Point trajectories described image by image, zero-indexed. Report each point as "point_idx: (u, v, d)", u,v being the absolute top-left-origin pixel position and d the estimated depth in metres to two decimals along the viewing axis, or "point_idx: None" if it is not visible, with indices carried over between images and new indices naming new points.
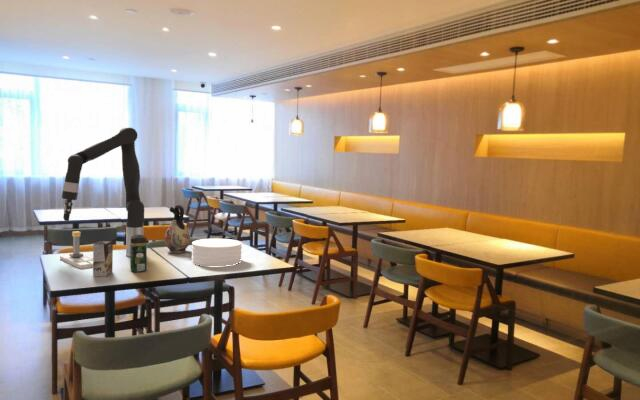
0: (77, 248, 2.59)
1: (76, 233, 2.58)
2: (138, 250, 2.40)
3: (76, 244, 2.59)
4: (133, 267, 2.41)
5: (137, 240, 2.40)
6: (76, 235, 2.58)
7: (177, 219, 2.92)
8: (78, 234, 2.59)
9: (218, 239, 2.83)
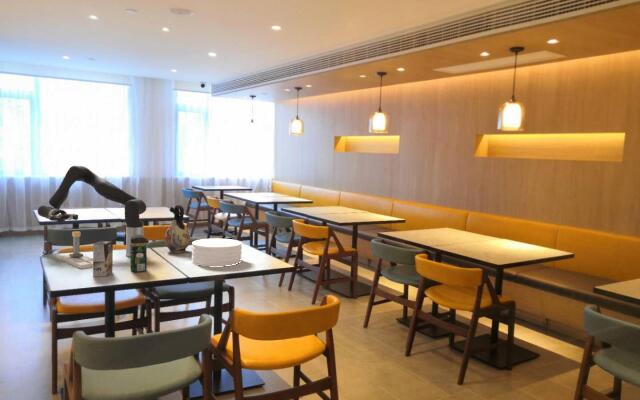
0: (77, 248, 2.59)
1: (76, 233, 2.58)
2: (138, 250, 2.40)
3: (76, 244, 2.59)
4: (133, 267, 2.41)
5: (137, 240, 2.40)
6: (76, 235, 2.58)
7: (177, 219, 2.92)
8: (78, 234, 2.59)
9: (218, 239, 2.83)
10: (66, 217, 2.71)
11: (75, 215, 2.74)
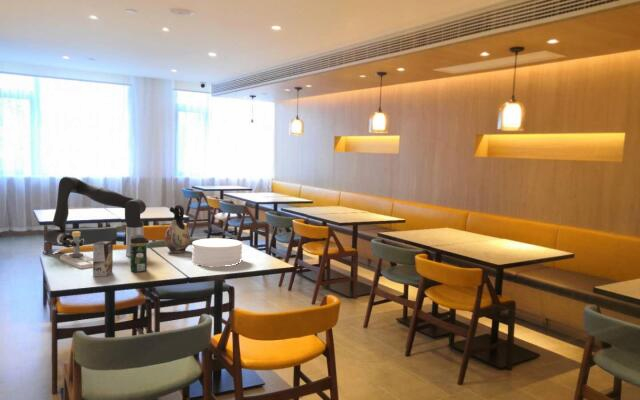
0: (77, 248, 2.59)
1: (76, 233, 2.58)
2: (138, 250, 2.40)
3: (76, 244, 2.59)
4: (133, 267, 2.41)
5: (137, 240, 2.40)
6: (76, 235, 2.58)
7: (177, 219, 2.92)
8: (78, 234, 2.59)
9: (218, 239, 2.83)
10: None
11: (80, 240, 2.64)
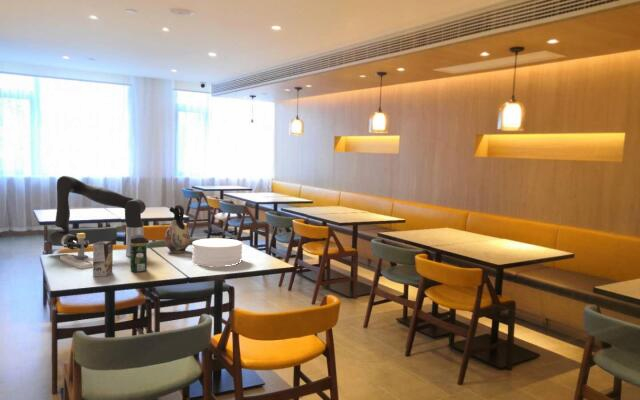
0: (82, 250, 2.55)
1: (81, 235, 2.53)
2: (138, 250, 2.40)
3: (81, 246, 2.54)
4: (133, 267, 2.41)
5: (137, 240, 2.40)
6: (81, 236, 2.54)
7: (177, 219, 2.92)
8: (83, 236, 2.54)
9: (218, 239, 2.83)
10: None
11: (85, 242, 2.60)
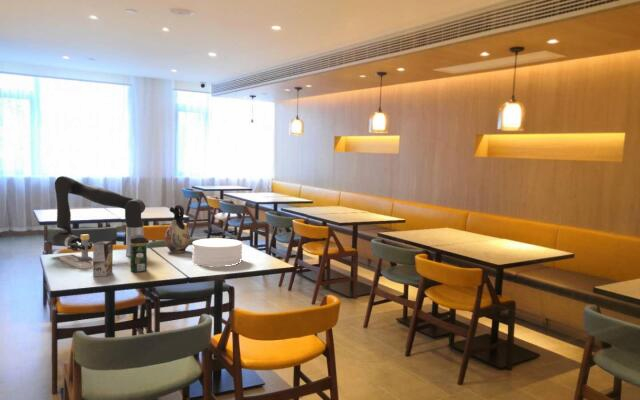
0: (86, 251, 2.52)
1: (85, 236, 2.50)
2: (138, 250, 2.40)
3: (85, 247, 2.51)
4: (133, 267, 2.41)
5: (137, 240, 2.40)
6: (85, 238, 2.50)
7: (177, 219, 2.92)
8: (87, 237, 2.51)
9: (218, 239, 2.83)
10: None
11: (89, 243, 2.56)
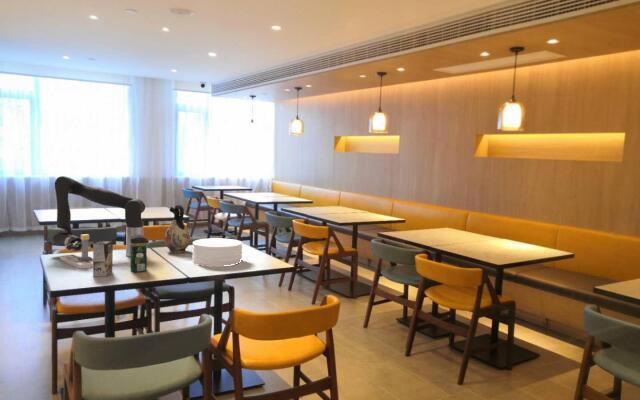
0: (86, 251, 2.52)
1: (85, 236, 2.50)
2: (138, 250, 2.40)
3: (85, 247, 2.51)
4: (133, 267, 2.41)
5: (137, 240, 2.40)
6: (85, 238, 2.50)
7: (177, 219, 2.92)
8: (87, 237, 2.51)
9: (218, 239, 2.83)
10: None
11: (93, 243, 2.59)
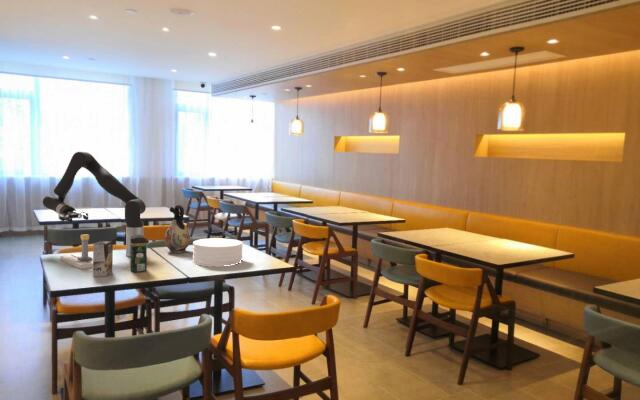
0: (86, 251, 2.52)
1: (85, 236, 2.50)
2: (138, 250, 2.40)
3: (85, 247, 2.51)
4: (133, 267, 2.41)
5: (137, 240, 2.40)
6: (85, 238, 2.50)
7: (177, 219, 2.92)
8: (87, 237, 2.51)
9: (219, 239, 2.83)
10: (76, 216, 2.66)
11: (85, 213, 2.69)
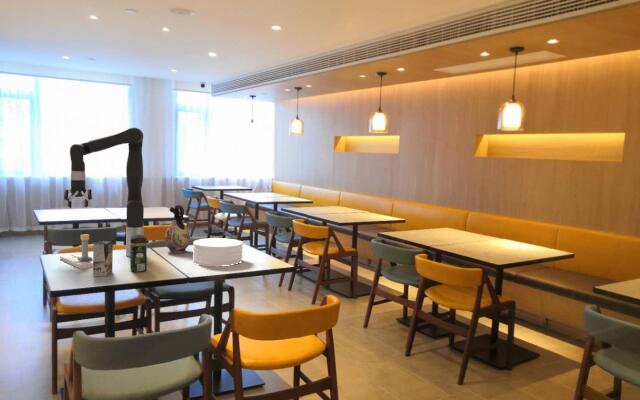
0: (86, 251, 2.52)
1: (85, 236, 2.50)
2: (138, 250, 2.40)
3: (85, 247, 2.51)
4: (133, 267, 2.41)
5: (137, 240, 2.40)
6: (85, 238, 2.50)
7: (177, 219, 2.92)
8: (87, 237, 2.51)
9: (219, 239, 2.84)
10: (80, 196, 2.71)
11: (89, 197, 2.74)
